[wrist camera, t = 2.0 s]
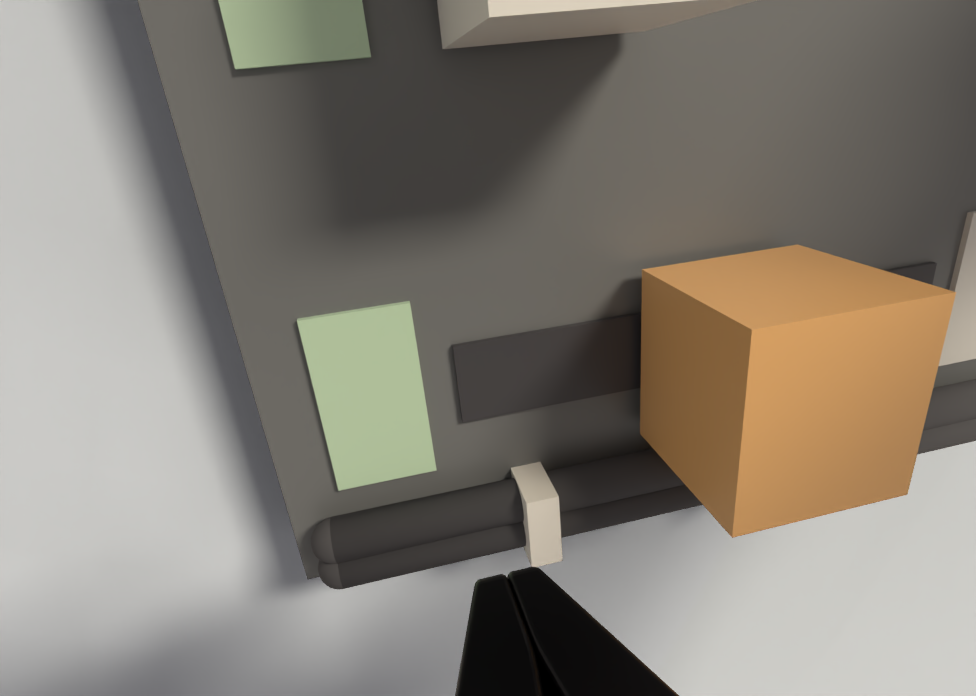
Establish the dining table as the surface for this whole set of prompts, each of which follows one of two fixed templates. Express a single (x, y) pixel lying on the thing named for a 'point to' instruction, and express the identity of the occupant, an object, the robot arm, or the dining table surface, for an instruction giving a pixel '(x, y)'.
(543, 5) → the block
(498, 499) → the cord bundle
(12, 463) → the dining table surface
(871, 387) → the block
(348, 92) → the breaker panel
